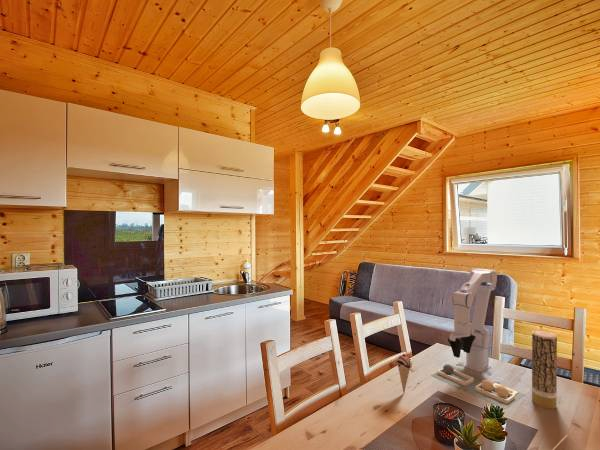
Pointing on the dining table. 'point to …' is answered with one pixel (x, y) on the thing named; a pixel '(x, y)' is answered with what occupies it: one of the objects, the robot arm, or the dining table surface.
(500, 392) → the tan ball
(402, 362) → the ice cream cone
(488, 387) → the tan ball
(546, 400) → the bark log
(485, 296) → the robot arm
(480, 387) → the sorting board
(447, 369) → the charcoal ball
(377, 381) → the dining table surface
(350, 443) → the dining table surface
